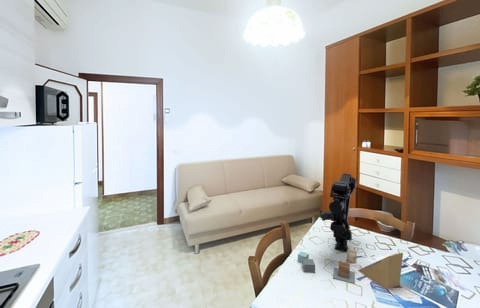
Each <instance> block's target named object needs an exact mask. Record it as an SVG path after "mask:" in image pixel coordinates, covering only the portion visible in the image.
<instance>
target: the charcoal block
mask: <svg viewBox="0 0 480 308" xmlns="http://www.w3.org/2000/svg"><path fill="white" fill-rule="evenodd" d="M301 268H302V270H303V273H305V274H306V273H310V274H311V273H312V274H315V273H316V263H315V260H314V259H313V258H309V259H302V263H301Z"/></svg>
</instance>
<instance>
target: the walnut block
mask: <svg viewBox="0 0 480 308" xmlns="http://www.w3.org/2000/svg"><path fill="white" fill-rule="evenodd" d="M338 268H339V271H338V276H340V277H344V278H349V273H350V271H351V263H349V262H347V261H343V260H338Z"/></svg>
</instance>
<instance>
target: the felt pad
mask: <svg viewBox="0 0 480 308" xmlns="http://www.w3.org/2000/svg"><path fill="white" fill-rule="evenodd" d="M338 271H339V267H333V271H332V272H333V273H332V279H333V280H337V281H341V282H346V283H349V284H353V285H356V276H355V275H356V272H355V271H352V270H350V273H349V278H344V277H340V276H338Z"/></svg>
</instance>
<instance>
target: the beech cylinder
mask: <svg viewBox="0 0 480 308" xmlns="http://www.w3.org/2000/svg"><path fill="white" fill-rule="evenodd" d="M346 262H348V263H350V264H356V263H357V251H356V250H354V249H349V248H348V250H347V251H346Z"/></svg>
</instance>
